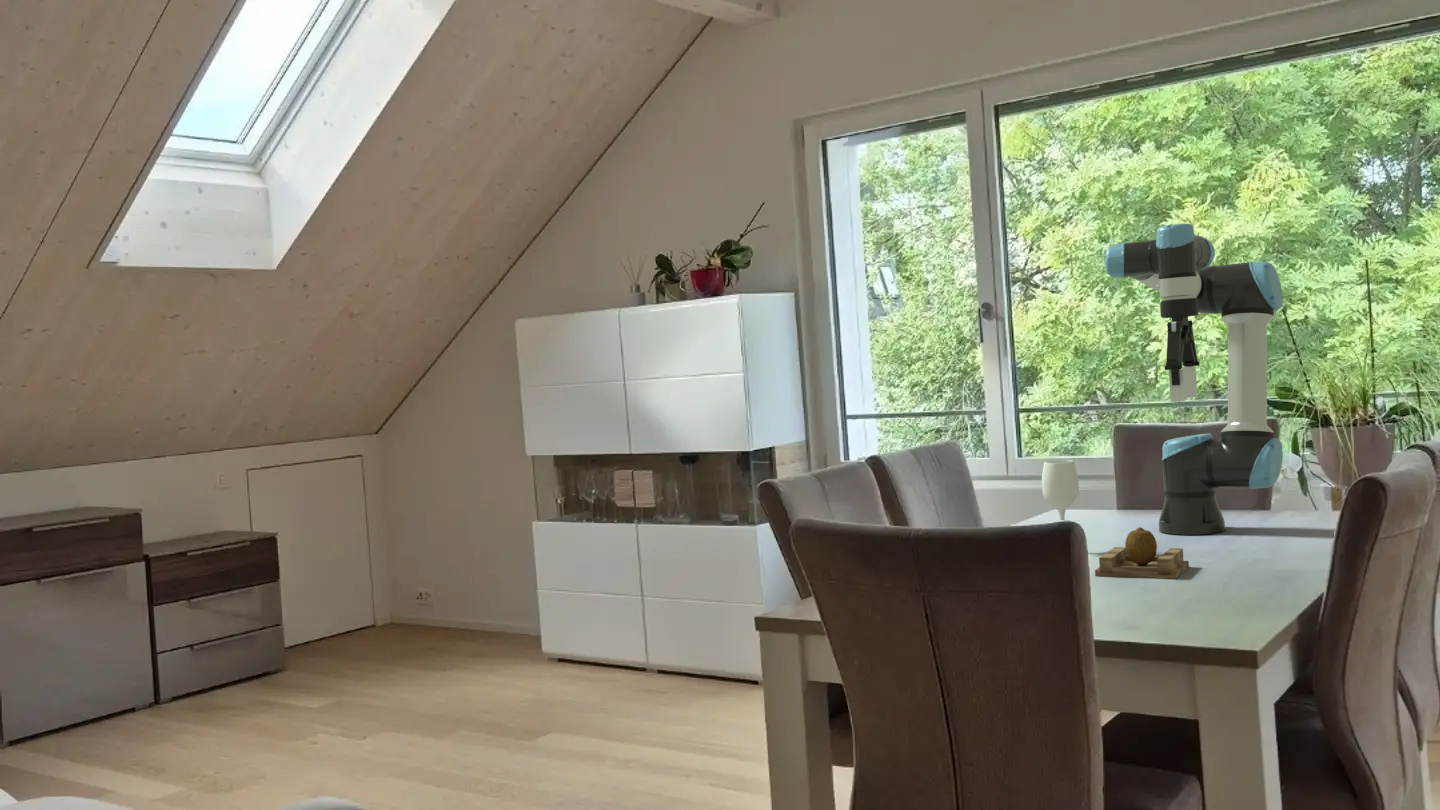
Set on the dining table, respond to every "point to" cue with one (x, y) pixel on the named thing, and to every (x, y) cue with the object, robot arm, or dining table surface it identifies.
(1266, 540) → the dining table surface
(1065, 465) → the wineglass
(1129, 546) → the fruit
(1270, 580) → the dining table surface
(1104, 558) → the cradle
